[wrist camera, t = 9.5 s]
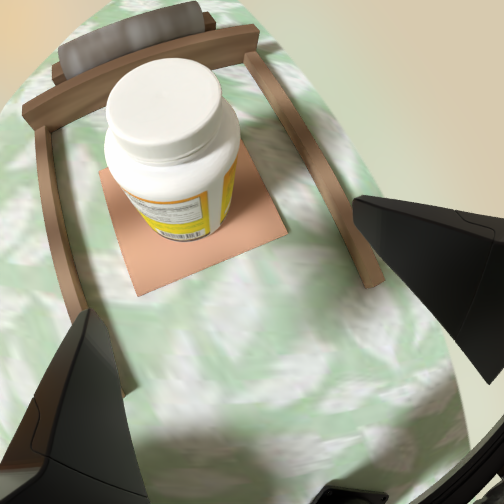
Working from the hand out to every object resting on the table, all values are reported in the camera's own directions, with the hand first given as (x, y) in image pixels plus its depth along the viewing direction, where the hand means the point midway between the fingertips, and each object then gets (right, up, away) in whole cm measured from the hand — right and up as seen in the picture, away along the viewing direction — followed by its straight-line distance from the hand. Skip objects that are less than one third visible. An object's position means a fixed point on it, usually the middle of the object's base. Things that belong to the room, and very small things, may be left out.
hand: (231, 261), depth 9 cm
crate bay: (-4, +5, +10) cm, 12 cm away
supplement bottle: (-4, +3, +10) cm, 11 cm away
